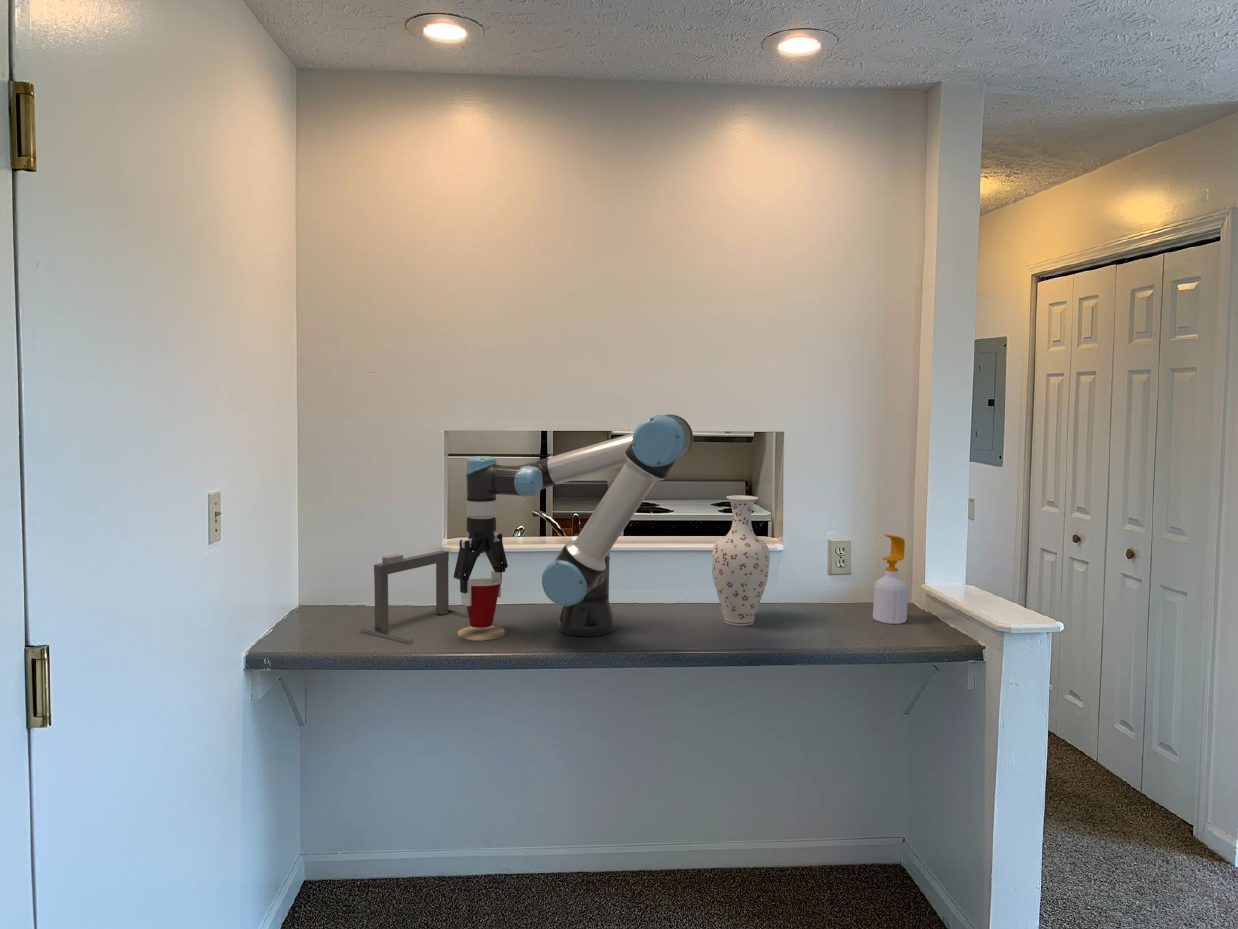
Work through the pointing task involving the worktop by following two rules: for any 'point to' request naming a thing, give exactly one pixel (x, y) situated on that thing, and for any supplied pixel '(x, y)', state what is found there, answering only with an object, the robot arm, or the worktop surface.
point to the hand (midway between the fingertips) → (481, 600)
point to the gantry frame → (401, 564)
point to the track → (401, 638)
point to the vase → (740, 565)
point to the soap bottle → (891, 588)
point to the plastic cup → (483, 601)
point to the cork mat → (481, 633)
